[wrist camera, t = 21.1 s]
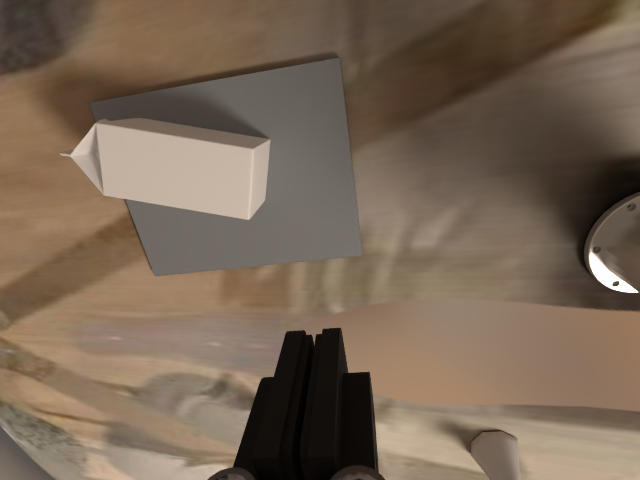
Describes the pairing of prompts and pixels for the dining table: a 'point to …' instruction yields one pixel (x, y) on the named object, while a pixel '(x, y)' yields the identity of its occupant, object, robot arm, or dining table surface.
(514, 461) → the flask
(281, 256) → the mat
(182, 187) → the milk carton
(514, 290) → the dining table surface
